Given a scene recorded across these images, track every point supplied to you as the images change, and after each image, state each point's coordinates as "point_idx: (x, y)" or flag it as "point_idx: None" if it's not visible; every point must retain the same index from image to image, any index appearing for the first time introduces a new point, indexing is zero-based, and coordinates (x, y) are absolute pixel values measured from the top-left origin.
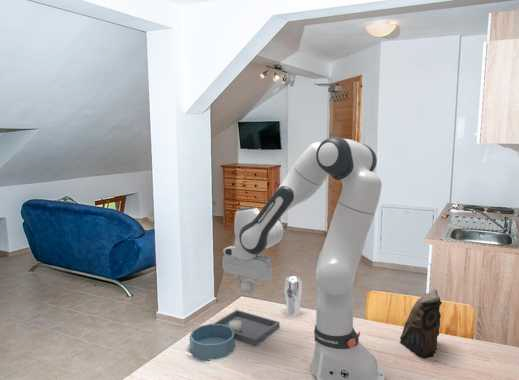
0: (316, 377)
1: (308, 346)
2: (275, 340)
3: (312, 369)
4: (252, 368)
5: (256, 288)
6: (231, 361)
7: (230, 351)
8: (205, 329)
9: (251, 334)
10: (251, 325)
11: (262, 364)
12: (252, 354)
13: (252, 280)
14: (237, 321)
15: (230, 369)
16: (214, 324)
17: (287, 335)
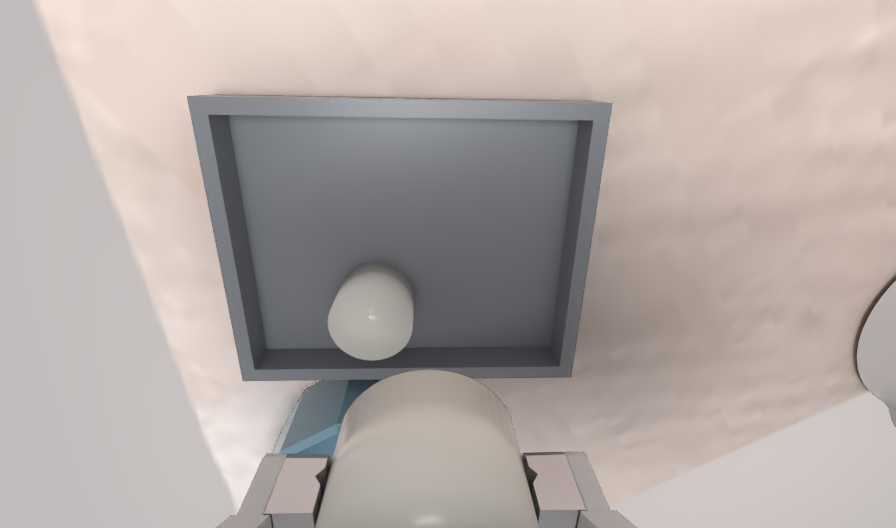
0: (892, 409)
1: (818, 195)
2: (620, 236)
3: (881, 392)
4: (619, 465)
5: (584, 465)
6: None
7: None
8: None
9: (478, 276)
10: (412, 182)
11: (645, 429)
12: (570, 395)
13: (491, 512)
14: (369, 302)
15: None
16: (306, 445)
17: (666, 145)
